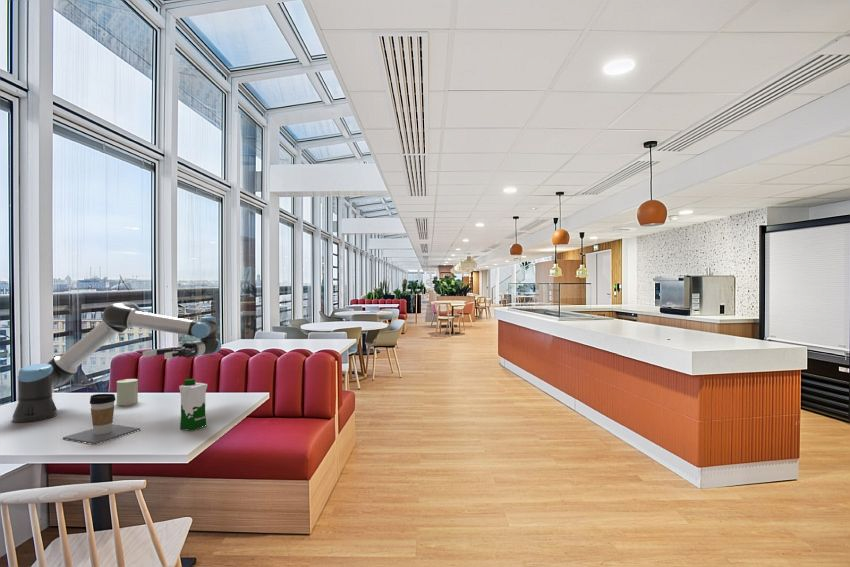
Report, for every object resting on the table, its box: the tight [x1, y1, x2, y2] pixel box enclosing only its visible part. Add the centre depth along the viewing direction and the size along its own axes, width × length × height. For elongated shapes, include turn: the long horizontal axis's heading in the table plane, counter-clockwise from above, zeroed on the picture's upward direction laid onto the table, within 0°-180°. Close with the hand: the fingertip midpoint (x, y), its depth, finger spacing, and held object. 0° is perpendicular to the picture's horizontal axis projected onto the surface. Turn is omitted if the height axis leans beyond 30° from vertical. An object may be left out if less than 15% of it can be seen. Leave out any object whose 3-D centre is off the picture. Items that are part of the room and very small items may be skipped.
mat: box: [62, 423, 141, 445], centre depth 178 cm, size 18×18×1 cm
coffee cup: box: [89, 393, 117, 435], centre depth 178 cm, size 8×8×15 cm
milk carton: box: [178, 378, 208, 431], centre depth 187 cm, size 9×9×20 cm
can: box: [116, 378, 139, 406], centre depth 227 cm, size 9×9×12 cm
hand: (153, 355), depth 203 cm, fingers open, 13 cm apart
